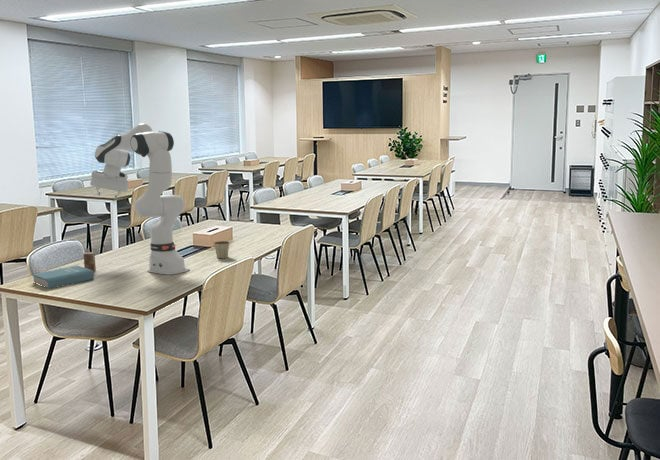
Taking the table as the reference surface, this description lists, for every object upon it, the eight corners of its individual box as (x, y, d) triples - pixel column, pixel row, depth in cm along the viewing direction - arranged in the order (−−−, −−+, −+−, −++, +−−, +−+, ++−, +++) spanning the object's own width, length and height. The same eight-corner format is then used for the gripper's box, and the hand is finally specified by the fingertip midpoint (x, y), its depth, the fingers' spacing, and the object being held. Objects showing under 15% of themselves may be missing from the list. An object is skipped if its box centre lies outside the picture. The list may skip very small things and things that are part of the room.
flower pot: (210, 258, 343) (209, 243, 341) (220, 254, 351) (220, 240, 350) (223, 259, 339) (223, 244, 337) (233, 256, 347) (233, 241, 345)
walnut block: (95, 270, 316) (94, 251, 314) (94, 272, 311) (92, 253, 310) (86, 270, 315) (85, 252, 313) (84, 273, 311) (83, 254, 309)
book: (77, 275, 309) (77, 265, 308) (94, 280, 298) (93, 270, 298) (33, 284, 291) (32, 274, 291) (48, 290, 281) (48, 279, 280)
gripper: (91, 168, 336) (87, 192, 335) (129, 175, 342) (125, 199, 340) (93, 170, 342) (88, 194, 341) (130, 177, 348) (126, 200, 346)
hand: (107, 197), depth 341 cm, fingers open, 8 cm apart
